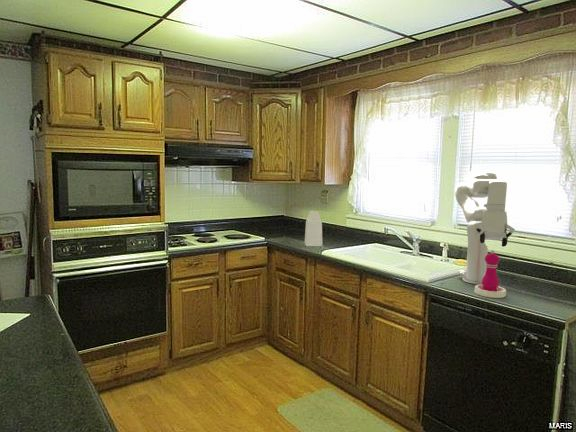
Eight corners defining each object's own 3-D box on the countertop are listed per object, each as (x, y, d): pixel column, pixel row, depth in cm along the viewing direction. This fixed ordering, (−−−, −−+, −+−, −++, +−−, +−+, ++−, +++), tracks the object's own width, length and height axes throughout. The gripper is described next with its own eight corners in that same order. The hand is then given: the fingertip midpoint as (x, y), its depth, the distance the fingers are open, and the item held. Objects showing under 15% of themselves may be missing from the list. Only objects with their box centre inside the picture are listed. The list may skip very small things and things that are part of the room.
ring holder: (469, 292, 193) (469, 287, 193) (481, 287, 202) (482, 282, 202) (498, 299, 183) (498, 294, 183) (510, 294, 192) (510, 288, 192)
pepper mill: (487, 289, 198) (490, 248, 195) (501, 293, 191) (504, 251, 189) (477, 291, 194) (480, 249, 192) (491, 295, 188) (494, 252, 186)
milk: (320, 244, 310) (320, 210, 306) (322, 247, 298) (323, 212, 295) (304, 244, 309) (304, 210, 306) (305, 247, 297) (306, 212, 294)
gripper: (473, 206, 192) (470, 242, 194) (512, 210, 179) (509, 248, 182) (480, 205, 197) (477, 240, 199) (519, 209, 184) (516, 246, 186)
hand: (492, 244), depth 190 cm, fingers open, 9 cm apart
